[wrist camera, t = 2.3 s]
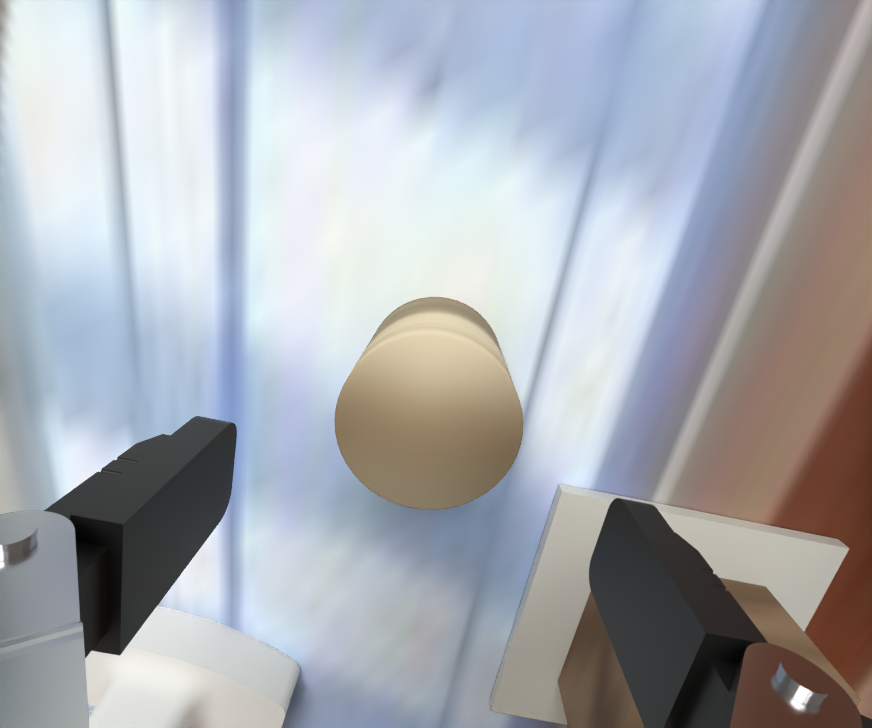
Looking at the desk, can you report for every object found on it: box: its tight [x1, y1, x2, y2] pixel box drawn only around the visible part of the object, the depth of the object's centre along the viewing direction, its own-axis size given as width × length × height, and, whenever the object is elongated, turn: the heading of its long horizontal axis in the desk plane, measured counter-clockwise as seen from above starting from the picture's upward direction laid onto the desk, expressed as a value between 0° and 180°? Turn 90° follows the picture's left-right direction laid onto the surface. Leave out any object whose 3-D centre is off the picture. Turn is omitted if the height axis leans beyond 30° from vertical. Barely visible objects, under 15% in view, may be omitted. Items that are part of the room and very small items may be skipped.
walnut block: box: [558, 578, 861, 728], centre depth 19 cm, size 7×7×5 cm
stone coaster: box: [490, 484, 849, 725], centre depth 22 cm, size 12×12×1 cm
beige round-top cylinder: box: [335, 297, 523, 510], centre depth 16 cm, size 5×5×6 cm
